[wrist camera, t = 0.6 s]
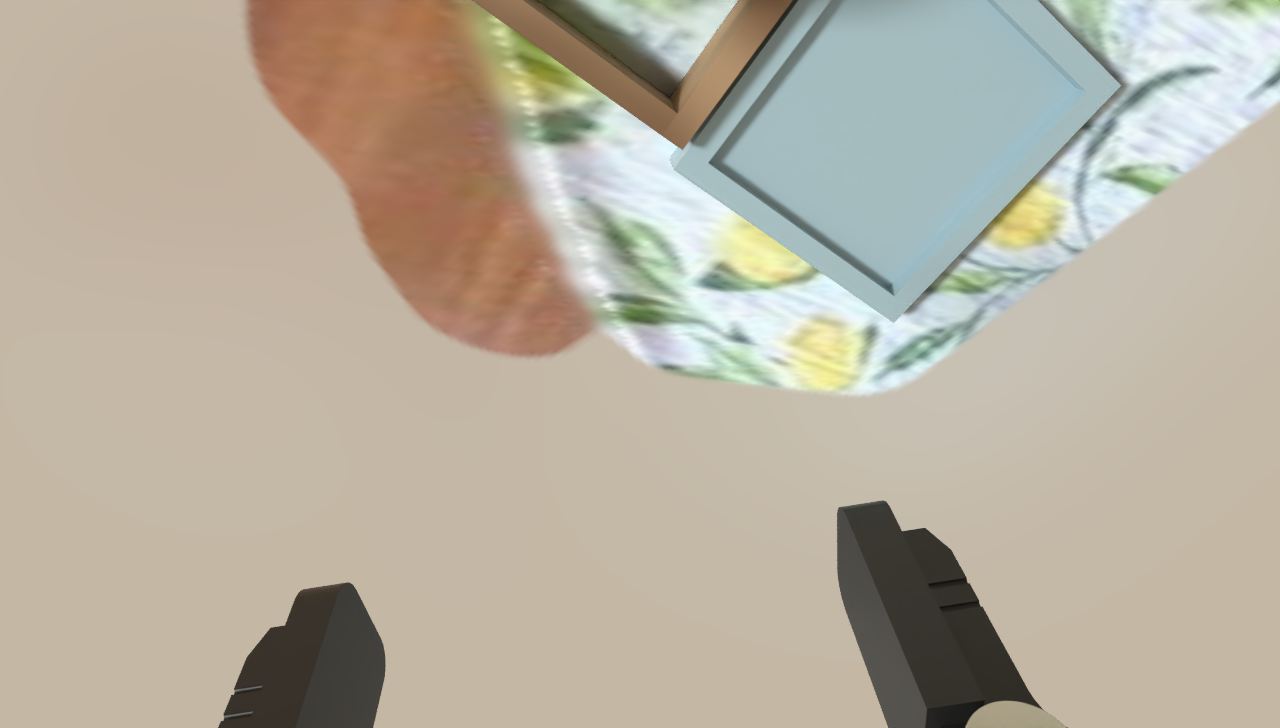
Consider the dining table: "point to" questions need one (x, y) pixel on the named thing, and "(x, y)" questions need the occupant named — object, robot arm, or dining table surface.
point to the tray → (892, 132)
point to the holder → (604, 72)
